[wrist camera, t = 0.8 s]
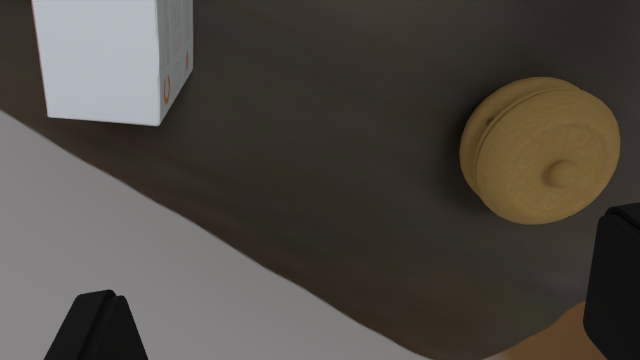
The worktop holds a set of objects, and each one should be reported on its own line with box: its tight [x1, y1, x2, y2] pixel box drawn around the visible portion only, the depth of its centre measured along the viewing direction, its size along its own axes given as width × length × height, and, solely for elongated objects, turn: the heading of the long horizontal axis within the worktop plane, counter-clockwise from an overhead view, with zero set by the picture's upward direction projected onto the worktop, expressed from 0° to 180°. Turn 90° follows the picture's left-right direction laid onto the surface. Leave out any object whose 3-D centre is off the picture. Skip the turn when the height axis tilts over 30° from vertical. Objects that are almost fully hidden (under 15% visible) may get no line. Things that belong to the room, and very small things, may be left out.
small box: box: [31, 0, 193, 126], centre depth 32 cm, size 8×6×13 cm
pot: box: [459, 77, 620, 225], centre depth 40 cm, size 12×12×10 cm
